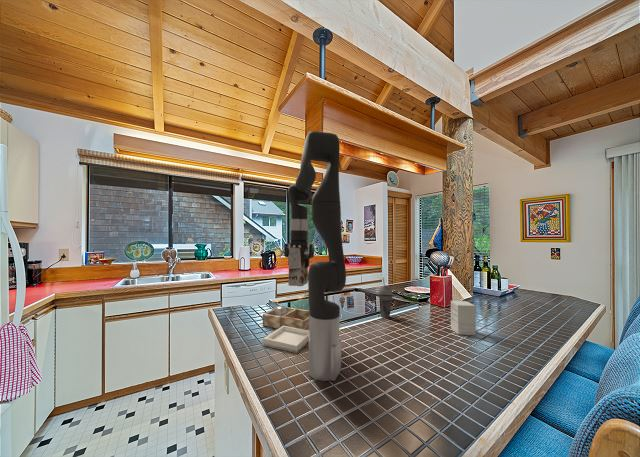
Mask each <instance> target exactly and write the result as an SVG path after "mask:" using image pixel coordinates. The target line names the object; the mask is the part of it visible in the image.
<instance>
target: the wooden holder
mask: <svg viewBox="0 0 640 457" xmlns="http://www.w3.org/2000/svg"><path fill="white" fill-rule="evenodd" d="M263 326H264V327H268V328H274V329H279V328H280V327H282V326H288V327H293V328H298V329H303V330H309V310H308V309H300V308H294V307H288V306H286V314H285V315H283V316H275V308H273V309H271V310H269V311H266V312H264V313H263V314H262V327H263Z"/></svg>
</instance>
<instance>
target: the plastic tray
mask: <svg viewBox="0 0 640 457" xmlns="http://www.w3.org/2000/svg"><path fill="white" fill-rule="evenodd" d="M262 340H263V341H262V342H263V344H262V345H263V346H265V347H269V348H273V349H277V350H282V351H285V352H290V353H295V354H297V353H298V352H300V350H301V349H302V348H304V347H305V346H306V345H307V344H309V330H303V329H298V328H293V327H288V326H282V327H280V328H279V329H278V328H276V329H275V330H274V331H273V332H271V333H270V334H267V335H266V336H265V337H264V338H263V339H262Z"/></svg>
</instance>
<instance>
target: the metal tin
mask: <svg viewBox="0 0 640 457" xmlns="http://www.w3.org/2000/svg"><path fill="white" fill-rule="evenodd" d="M286 307H287V306H285V305H277V306H275V307H274V309H275V316H283V315H285V314H286Z"/></svg>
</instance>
